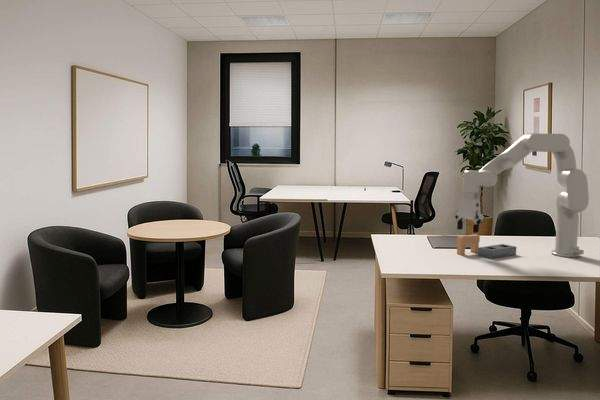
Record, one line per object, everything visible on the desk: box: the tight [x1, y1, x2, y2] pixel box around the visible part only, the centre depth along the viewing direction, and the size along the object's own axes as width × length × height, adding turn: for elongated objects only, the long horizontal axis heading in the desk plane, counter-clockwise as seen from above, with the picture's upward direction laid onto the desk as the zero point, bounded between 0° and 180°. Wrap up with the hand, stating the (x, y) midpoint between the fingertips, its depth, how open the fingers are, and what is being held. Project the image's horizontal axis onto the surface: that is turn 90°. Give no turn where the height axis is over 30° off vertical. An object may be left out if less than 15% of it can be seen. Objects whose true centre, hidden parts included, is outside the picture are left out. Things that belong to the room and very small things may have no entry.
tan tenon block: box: [456, 233, 481, 256], centre depth 275 cm, size 3×13×8 cm, turn 123°
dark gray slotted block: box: [477, 243, 517, 260], centre depth 271 cm, size 8×18×4 cm, turn 124°
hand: (467, 230), depth 275 cm, fingers open, 9 cm apart
